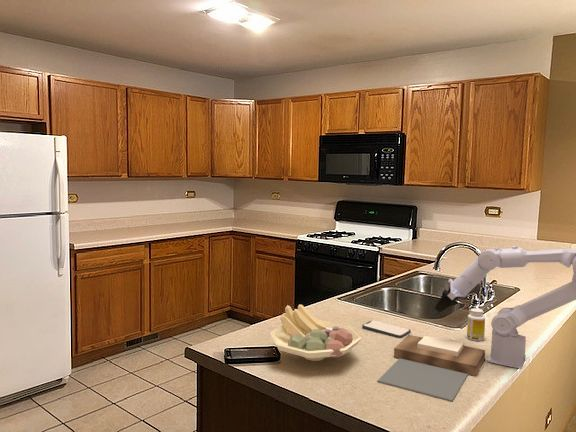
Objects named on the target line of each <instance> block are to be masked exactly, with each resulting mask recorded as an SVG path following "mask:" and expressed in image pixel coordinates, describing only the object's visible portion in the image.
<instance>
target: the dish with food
mask: <svg viewBox="0 0 576 432" xmlns="http://www.w3.org/2000/svg"><path fill="white" fill-rule="evenodd" d="M284 311H285V312H284V313H282V314H281V315H280V322H281V324H282V325H281V326H279V327H276V328H275V329H273V330H271V331H270V332H269V333H270V335H271V338H272V340H273V341H274V343H275V346H276V347H277V349H278V350H279V351H281V352H284V353H288V354H291V355H295V356H299V357H303V358H305V360H308V361H311V362H316V361H317V362H318V361H323V360H324V359H325V358H336V359H337V358H340V357H341V356H344V355H345V354H347V353H348V352H349V351H350V350H352V349H353V348H355V347H356V346H357V345H358V344H359V343H360V341H361V340H362V337H361V336H359V334H357V332H356V331H355V330H354V329H352V327H351V326H349V325H346V324H341V323H337V322H332V321H327V320H322V319H317V318H316V317H315V316H313V315H312V314H311V313H310V311H309V310H308V309H306V307H305V306H304V305H303V304H298V306H297V308H294V310H293V309H292V307H291V306H290V305H288V304H287V305H286V307H285V308H284Z"/></svg>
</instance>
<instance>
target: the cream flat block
mask: <svg viewBox="0 0 576 432" xmlns="http://www.w3.org/2000/svg"><path fill="white" fill-rule="evenodd" d="M464 346H465V343H464V342H457V341H453V340H449V339H444V338H438V337H433V336H428V335H424V336H423V338H422V339H421V340H420V341H419V342H418V345H417V348H419V349H424V350H429V351H433V352H438V353H443V354H447V355H452V356H457V357H458V355H459V354H460V352H461V351H462V349H463V348H464Z"/></svg>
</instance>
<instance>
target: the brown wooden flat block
mask: <svg viewBox="0 0 576 432" xmlns="http://www.w3.org/2000/svg"><path fill="white" fill-rule="evenodd" d="M423 337H424V336H423ZM423 337H421V336H419V335H412V334H408V335H406V336H405V338H403V340H401V341H400V342H399V343H398V344H396V345H395V347H394V348H393V358H395V359H399V358H401V359H405V360H410V361H414V362H418V363H423V364H427V365H431V366H436V367H440V368H444V369H449V370H453V371H457V372H462V373H466V374H468V376H473V377H476V376H477V375H478V372H479V371H480V369H481V368H482V365H483V364H484V362H485V360H486V349H483V348H477V347H473V346H467V345H464V348H463V349H462V351H461V352H460V354H459V355H458V357H457V356H452V355H447V354H443V353H438V352H433V351H429V350H424V349H419V348H417V345H418V342H419V341H420V340H421V339H422V338H423Z"/></svg>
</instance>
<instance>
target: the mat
mask: <svg viewBox="0 0 576 432" xmlns="http://www.w3.org/2000/svg"><path fill="white" fill-rule="evenodd" d="M468 376H469V375H468V374H466V373H462V372H457V371H453V370H449V369H444V368H440V367H436V366H431V365H427V364H423V363H418V362H414V361H410V360H405V359H401V358H397V360H396V361H395V362H394V363H393V364H392V365H391V366H390V367H389V368H388V369H387V370H386V371H385V372H384V373H383V374H382V375H381V376H380V377H379V378H378V380H377V383H381V384H384V385H387V386H391V387H395V388H399V389H402V390H407V391H409V392H410V391H411V392H414V393H418V394H422V395H425V396H429V397H432V398H436V399H440V400H444V401H448V402H453V401H454V400H455V398H456V396H457V394H458V393H459V392H460V389H461V388H462V386H463V384H464V382H465V381H466V379H467V378H468Z"/></svg>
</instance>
